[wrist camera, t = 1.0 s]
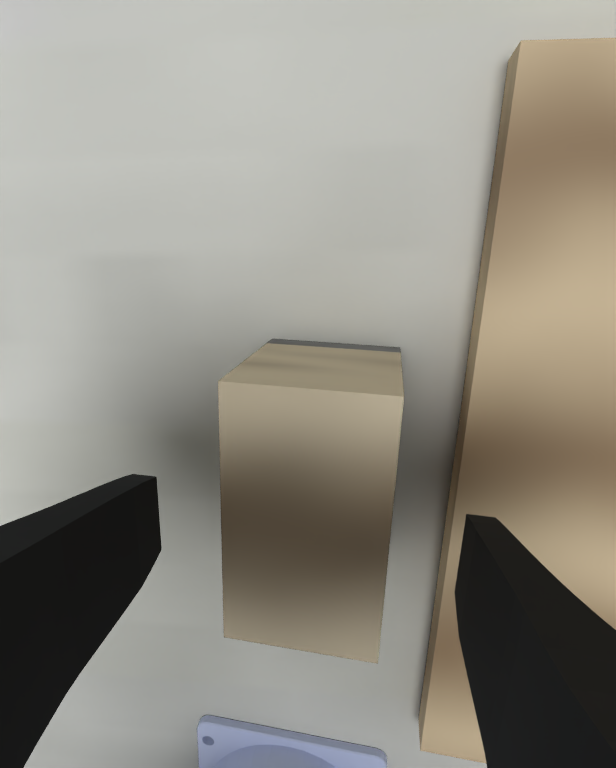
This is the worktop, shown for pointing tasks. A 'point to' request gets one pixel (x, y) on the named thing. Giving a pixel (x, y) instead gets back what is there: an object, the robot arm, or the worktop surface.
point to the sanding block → (309, 494)
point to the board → (538, 358)
